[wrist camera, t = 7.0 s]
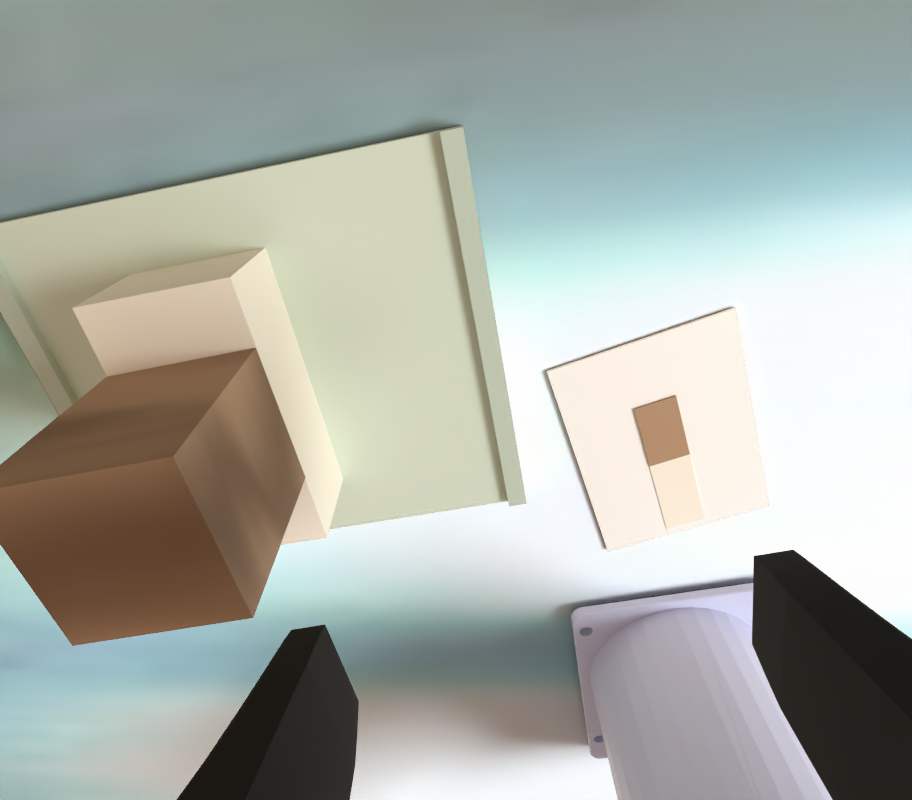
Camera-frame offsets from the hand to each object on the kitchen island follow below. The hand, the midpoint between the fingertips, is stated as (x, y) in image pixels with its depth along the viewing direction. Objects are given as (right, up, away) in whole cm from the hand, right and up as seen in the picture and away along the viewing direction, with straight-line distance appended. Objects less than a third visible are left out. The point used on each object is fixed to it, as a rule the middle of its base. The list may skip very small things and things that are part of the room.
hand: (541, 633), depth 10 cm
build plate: (-7, +5, +9) cm, 12 cm away
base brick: (-8, +4, +9) cm, 13 cm away
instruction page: (+6, +3, +10) cm, 12 cm away
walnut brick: (-8, +3, +6) cm, 10 cm away
